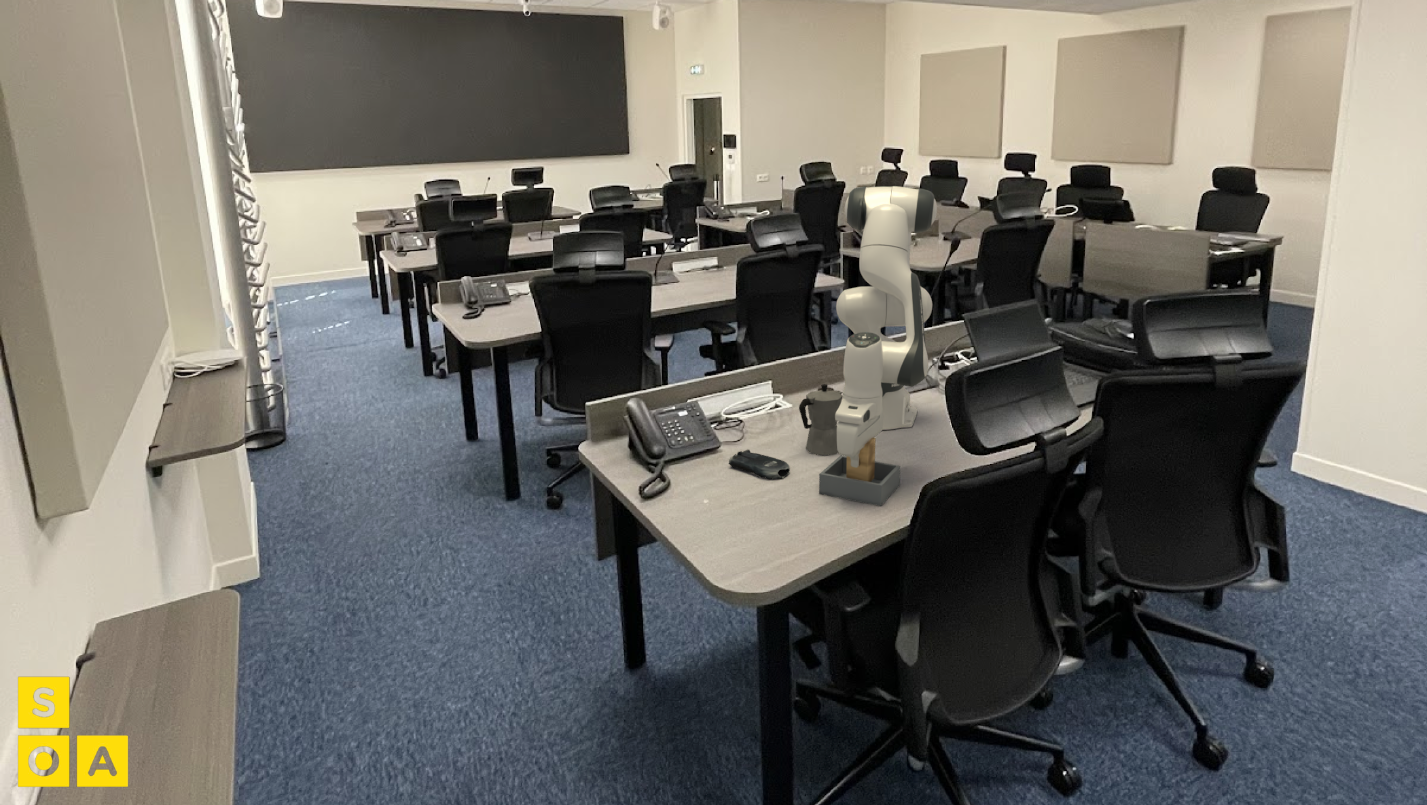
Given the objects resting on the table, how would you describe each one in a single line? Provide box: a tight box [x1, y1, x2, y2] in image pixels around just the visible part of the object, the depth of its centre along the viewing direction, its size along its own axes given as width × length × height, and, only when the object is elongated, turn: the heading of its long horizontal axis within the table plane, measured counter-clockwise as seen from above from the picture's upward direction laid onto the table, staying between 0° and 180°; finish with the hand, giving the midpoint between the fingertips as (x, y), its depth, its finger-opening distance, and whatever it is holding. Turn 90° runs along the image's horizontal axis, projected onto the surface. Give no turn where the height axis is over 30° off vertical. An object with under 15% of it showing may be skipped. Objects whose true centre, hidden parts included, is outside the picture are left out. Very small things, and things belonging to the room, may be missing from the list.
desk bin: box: [818, 455, 901, 507], centre depth 203 cm, size 13×15×5 cm
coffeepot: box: [798, 383, 843, 457], centre depth 225 cm, size 15×9×18 cm, turn 129°
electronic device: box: [728, 448, 791, 480], centre depth 216 cm, size 9×6×15 cm
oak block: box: [846, 437, 877, 482], centre depth 201 cm, size 5×5×10 cm
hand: (860, 461), depth 202 cm, fingers closed on oak block, 5 cm apart
